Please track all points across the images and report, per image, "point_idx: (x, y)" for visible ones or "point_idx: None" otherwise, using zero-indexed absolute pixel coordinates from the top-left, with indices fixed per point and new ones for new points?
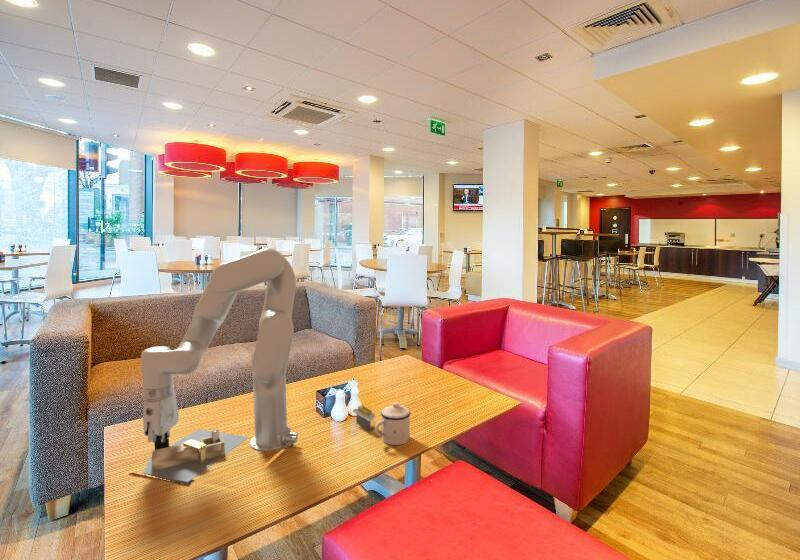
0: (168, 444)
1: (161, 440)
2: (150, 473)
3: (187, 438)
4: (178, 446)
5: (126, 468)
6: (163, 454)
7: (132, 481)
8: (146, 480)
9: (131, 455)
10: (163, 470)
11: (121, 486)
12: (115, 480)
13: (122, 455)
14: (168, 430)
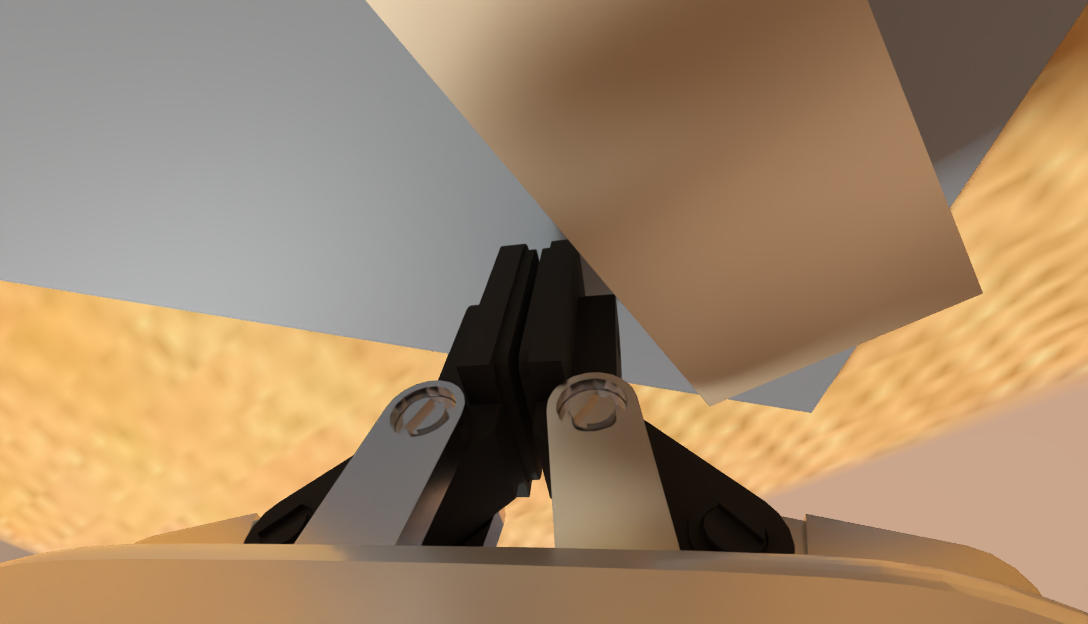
0: (493, 304)
1: (645, 431)
2: (950, 176)
3: (139, 261)
4: (526, 69)
5: (715, 442)
6: (875, 167)
7: (986, 287)
8: (1022, 153)
9: (530, 496)
10: (907, 38)
11: (1064, 327)
12: (912, 420)
13: (541, 533)
14: (368, 518)
